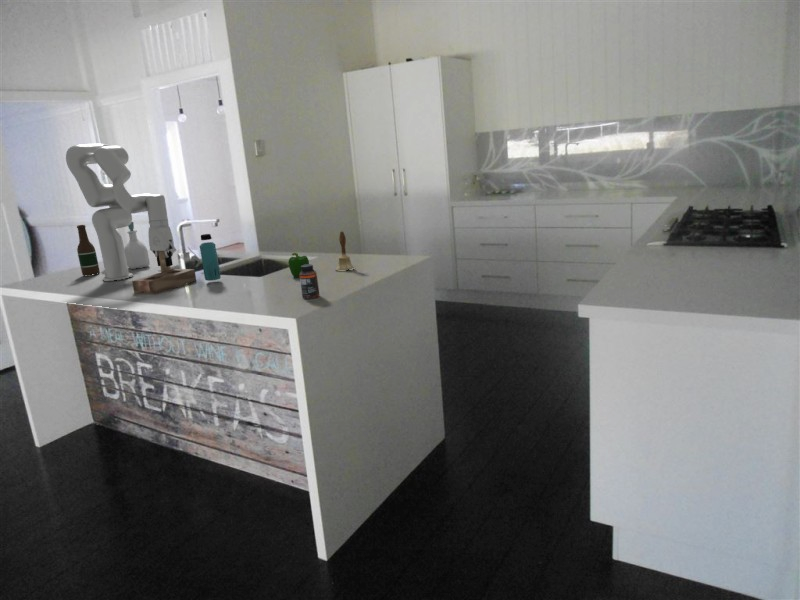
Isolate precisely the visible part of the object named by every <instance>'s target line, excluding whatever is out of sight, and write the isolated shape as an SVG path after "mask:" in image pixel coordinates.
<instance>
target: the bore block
mask: <svg viewBox="0 0 800 600" xmlns="http://www.w3.org/2000/svg"><path fill="white" fill-rule="evenodd" d="M193 281H194V282H197V276H196V270H195V269H194V268H189V269H188V268H171V270H168V271H164V272H161V271H160V272H159V273H155V274H151V275H148V276H144V277H140V278H137V279H135V280H131V284H132V289H133V293H134V294H144V295H158V294H161V293H165V292H167V291H170V290H173V289H176V288H178V286H179V287H182V286H185V285H187V284H186V283H188V284H191V283H194V282H193ZM190 282H191V283H190ZM184 284H185V285H184ZM181 285H182V286H181ZM175 287H176V288H175ZM172 288H173V289H172Z"/></svg>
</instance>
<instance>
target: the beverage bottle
mask: <svg viewBox="0 0 800 600" xmlns="http://www.w3.org/2000/svg"><path fill="white" fill-rule="evenodd" d="M200 240H201V241H205V242H202V243H201V244H200V245H199V251H200V257H201V263H202V270H203V273H204V275H203V276H204V279H205V281H211V282H212V281H216V280H220V279H221V271H220V269H221V268H220V264H219V257H218V252H217V248H216V244H215V243H214V242H213V241H208V240H213V237H212V235H211V233H204V234H201V235H200Z"/></svg>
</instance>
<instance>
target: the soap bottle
mask: <svg viewBox="0 0 800 600" xmlns="http://www.w3.org/2000/svg"><path fill="white" fill-rule="evenodd" d="M134 225H135V224H134V221H132V222H131V224H130V225H129V226H127V227H128V230H127V231H126V233H127V234H128V236H129V241H128V242H127V243H126V244H125V246H124V250H125V255H126V260H127V265H128V269H131V270H137V269H136V268H139V269H143V267H145V268H148V267H149V266H150V258H149V252H148V247H147V246H146V245H145V244H144V243H143V242H142V241H140V240H139V239H138V236H137V232H138V230H134V229H135V226H134Z"/></svg>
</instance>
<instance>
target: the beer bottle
mask: <svg viewBox="0 0 800 600" xmlns="http://www.w3.org/2000/svg"><path fill="white" fill-rule="evenodd" d="M76 228H77V232H78V239H79V240H78V242H79V243H78V245H77V248H76V251H77V257H78V261H79V265H80V270H81V274H82V276H83V275H92V274H97V273H100V274H101V271H100V266H99V261H98V256H97V252H96V248H95V245H93V243H92V242H90V239H89V236H88V234H87V233H88V232H87V229H86V224H78V225H77V226H76Z"/></svg>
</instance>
